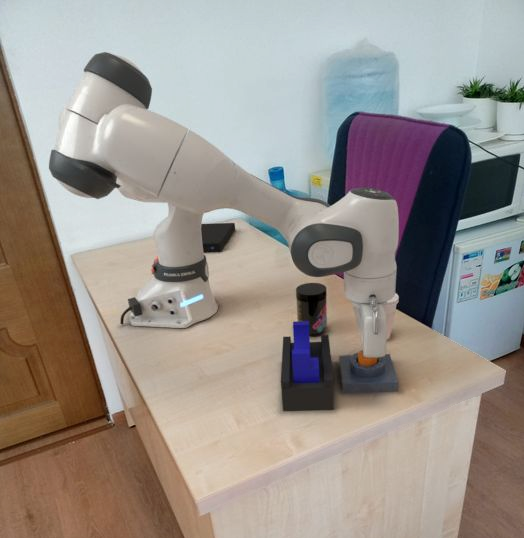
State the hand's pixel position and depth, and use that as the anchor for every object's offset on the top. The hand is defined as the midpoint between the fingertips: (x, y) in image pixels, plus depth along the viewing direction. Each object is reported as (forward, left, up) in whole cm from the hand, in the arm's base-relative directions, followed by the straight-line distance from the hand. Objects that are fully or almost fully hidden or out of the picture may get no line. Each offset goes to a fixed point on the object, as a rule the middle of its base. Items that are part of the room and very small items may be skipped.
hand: (367, 353), depth 94 cm
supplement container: (-10, +20, -6) cm, 23 cm away
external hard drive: (-45, +90, -6) cm, 101 cm away
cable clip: (-11, -2, -1) cm, 12 cm away
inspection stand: (-11, -2, -6) cm, 13 cm away
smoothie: (+5, +16, -6) cm, 18 cm away
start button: (0, 0, -2) cm, 2 cm away
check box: (0, 0, -6) cm, 6 cm away
